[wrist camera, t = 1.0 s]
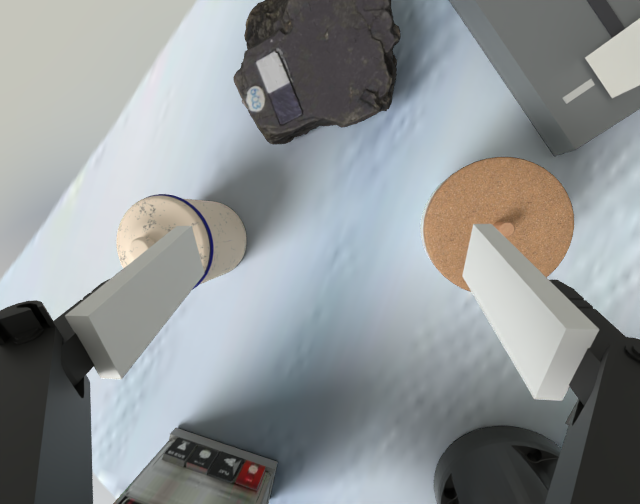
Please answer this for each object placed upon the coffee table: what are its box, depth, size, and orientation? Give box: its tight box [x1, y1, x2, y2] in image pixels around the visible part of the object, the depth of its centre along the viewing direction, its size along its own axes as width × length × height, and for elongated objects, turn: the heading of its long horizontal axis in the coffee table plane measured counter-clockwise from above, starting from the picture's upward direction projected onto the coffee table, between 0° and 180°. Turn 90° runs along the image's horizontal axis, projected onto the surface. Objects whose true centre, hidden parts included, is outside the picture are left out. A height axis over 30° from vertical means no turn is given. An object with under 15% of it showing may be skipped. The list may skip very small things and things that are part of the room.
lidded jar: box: [420, 157, 574, 292], centre depth 26 cm, size 11×11×9 cm
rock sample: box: [234, 0, 400, 144], centre depth 29 cm, size 18×16×5 cm
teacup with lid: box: [117, 194, 247, 290], centre depth 30 cm, size 12×9×12 cm
